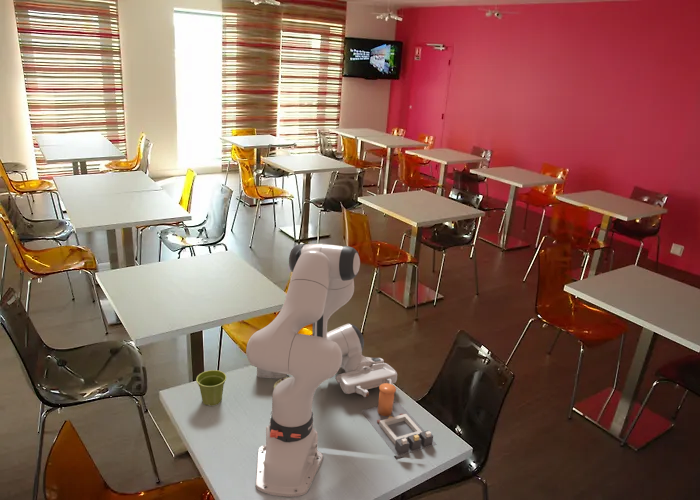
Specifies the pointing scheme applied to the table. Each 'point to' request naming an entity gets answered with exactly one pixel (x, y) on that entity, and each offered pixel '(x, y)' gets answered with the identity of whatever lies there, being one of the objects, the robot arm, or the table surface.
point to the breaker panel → (399, 430)
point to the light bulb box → (270, 374)
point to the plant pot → (211, 386)
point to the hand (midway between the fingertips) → (379, 392)
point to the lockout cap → (386, 399)
